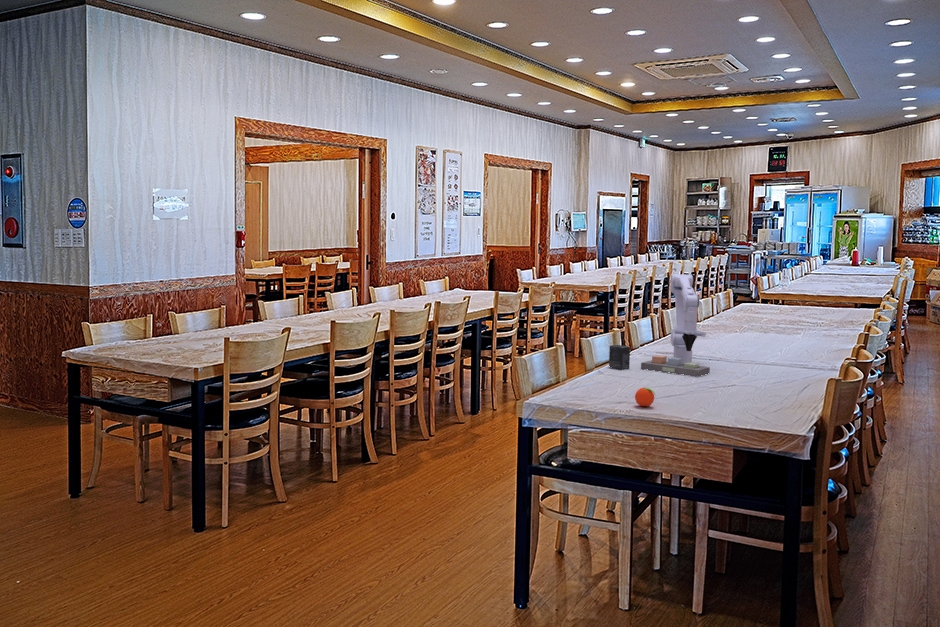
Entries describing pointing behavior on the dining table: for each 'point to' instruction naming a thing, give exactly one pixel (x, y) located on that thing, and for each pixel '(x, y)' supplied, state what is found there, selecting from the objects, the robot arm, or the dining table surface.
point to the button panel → (675, 368)
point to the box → (619, 356)
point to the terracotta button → (659, 359)
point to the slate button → (675, 361)
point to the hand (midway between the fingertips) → (688, 350)
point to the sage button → (691, 365)
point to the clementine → (644, 397)
